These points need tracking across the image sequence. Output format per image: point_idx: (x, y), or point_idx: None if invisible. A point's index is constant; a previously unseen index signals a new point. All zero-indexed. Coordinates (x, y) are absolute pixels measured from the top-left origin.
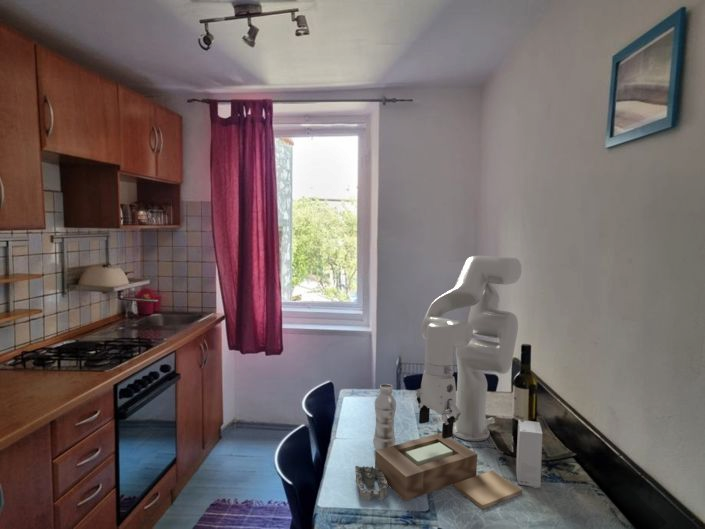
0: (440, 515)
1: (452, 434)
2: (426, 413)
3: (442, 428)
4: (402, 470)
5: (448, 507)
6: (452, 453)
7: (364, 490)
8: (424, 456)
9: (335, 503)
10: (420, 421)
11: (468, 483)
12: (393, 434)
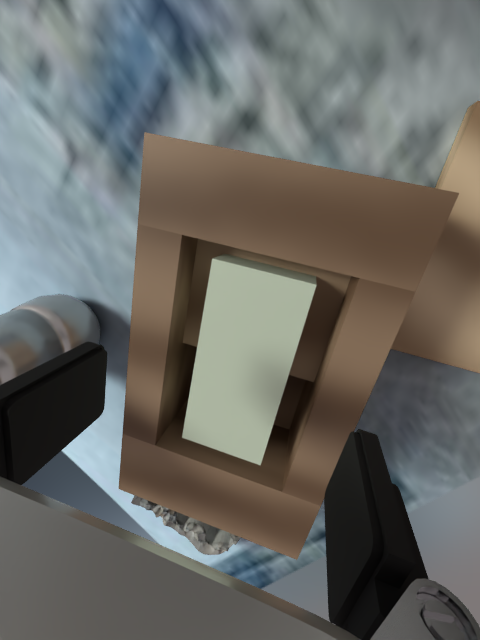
0: (414, 479)
1: (377, 442)
2: (45, 413)
3: (328, 567)
4: (263, 538)
5: (415, 438)
6: (316, 283)
7: (221, 548)
8: (253, 420)
9: (200, 558)
10: (88, 419)
11: (423, 302)
12: (47, 339)
